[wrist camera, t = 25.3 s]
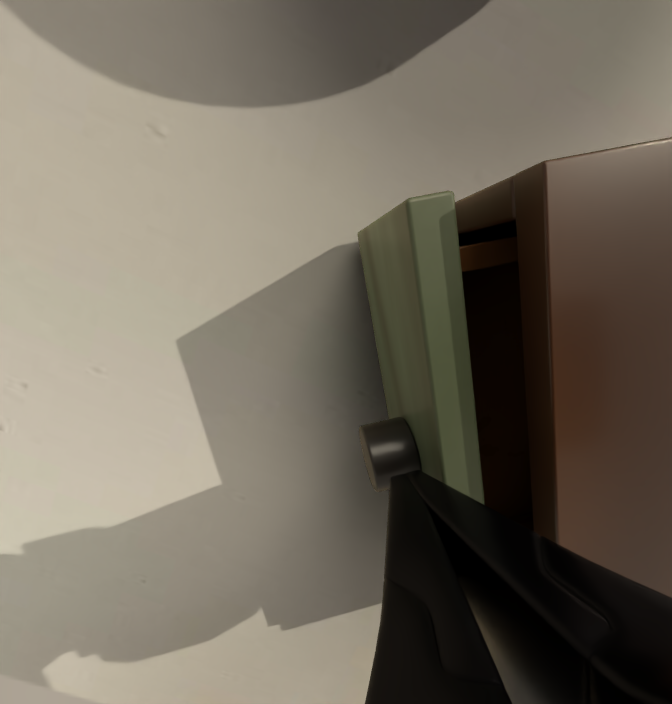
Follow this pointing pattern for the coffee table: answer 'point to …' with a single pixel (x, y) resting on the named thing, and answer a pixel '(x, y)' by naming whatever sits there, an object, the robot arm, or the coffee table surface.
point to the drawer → (448, 356)
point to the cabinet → (595, 347)
